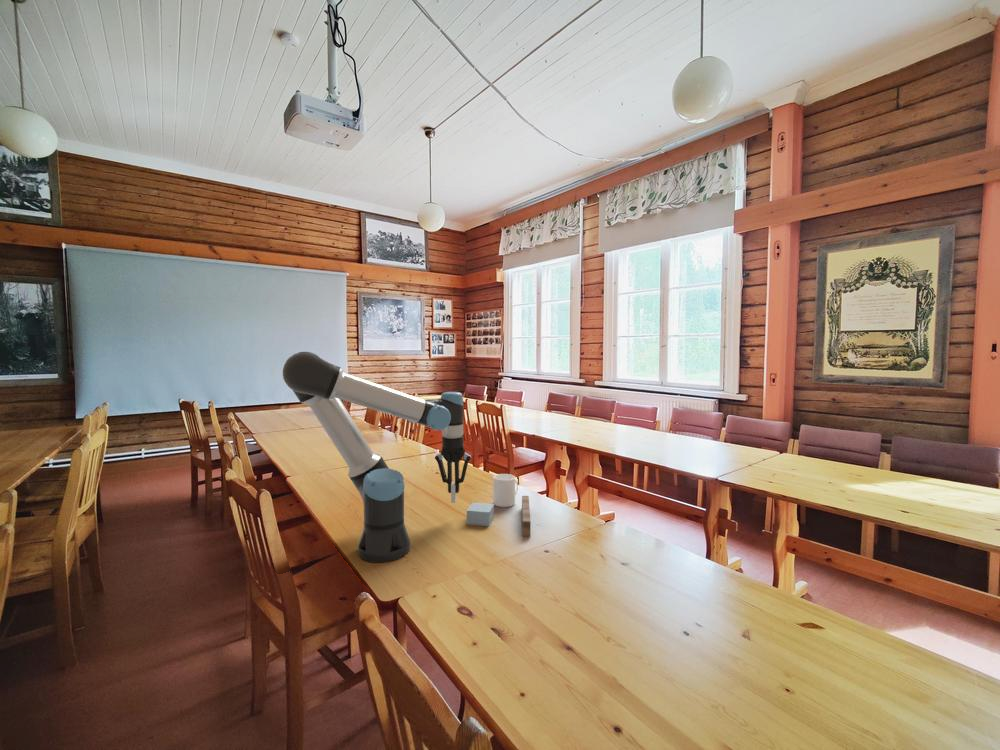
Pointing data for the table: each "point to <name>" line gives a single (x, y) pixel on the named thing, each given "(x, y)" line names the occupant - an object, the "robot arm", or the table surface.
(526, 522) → the board
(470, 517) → the block
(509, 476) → the mug
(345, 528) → the table surface
